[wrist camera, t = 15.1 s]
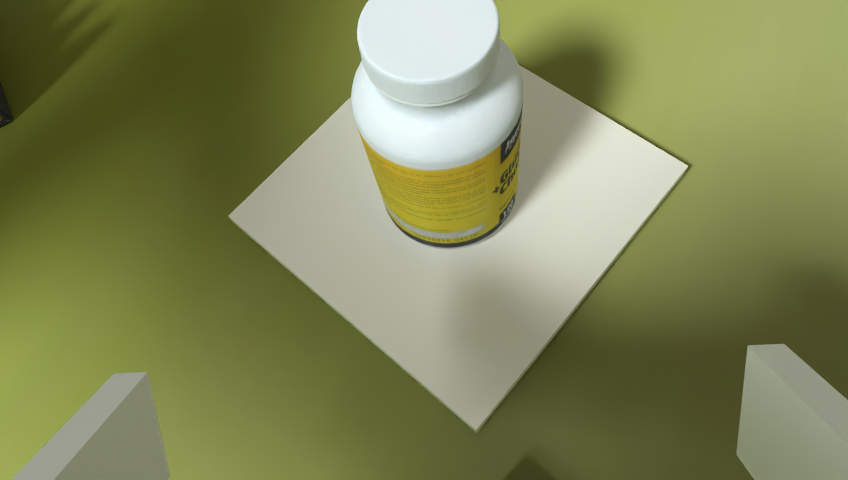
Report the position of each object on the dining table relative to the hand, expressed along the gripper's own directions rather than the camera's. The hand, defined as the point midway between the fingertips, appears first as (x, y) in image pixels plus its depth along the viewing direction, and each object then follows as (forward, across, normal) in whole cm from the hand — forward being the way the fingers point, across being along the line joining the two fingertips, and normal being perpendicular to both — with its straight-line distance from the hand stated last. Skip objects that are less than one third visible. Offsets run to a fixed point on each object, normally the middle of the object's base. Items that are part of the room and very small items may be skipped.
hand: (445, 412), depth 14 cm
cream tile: (+19, +1, 0) cm, 19 cm away
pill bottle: (+18, 0, 0) cm, 18 cm away
